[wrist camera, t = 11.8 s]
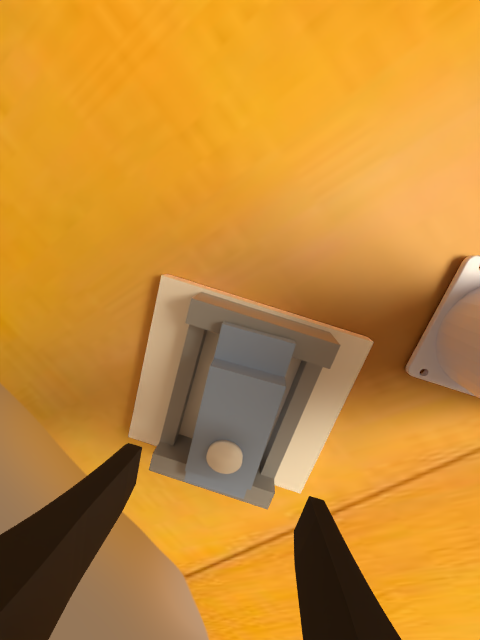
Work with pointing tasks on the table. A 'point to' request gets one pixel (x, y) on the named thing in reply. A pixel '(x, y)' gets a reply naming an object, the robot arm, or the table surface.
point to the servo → (238, 409)
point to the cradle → (192, 370)
